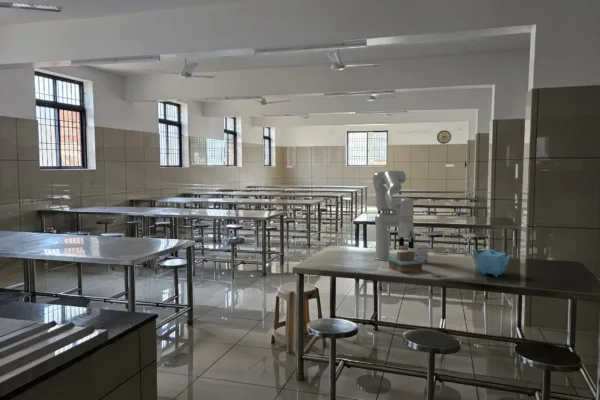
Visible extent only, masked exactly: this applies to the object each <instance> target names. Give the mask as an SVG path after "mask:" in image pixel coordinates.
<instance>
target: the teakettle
mask: <svg viewBox="0 0 600 400" xmlns="http://www.w3.org/2000/svg"><path fill="white" fill-rule="evenodd" d="M470 251H471V252H472V253H473V255H474V256H475V261H476V263H477V269H476V270H477V273H480V276H486V275H487V274H489V275H492V277H493V276H495V277H494V278H499V276H501V275H503V273H504V272H505V271H506V267H507V266H508V264H509V261H510V259H511V258H512V257H515V255H512V254H509V255H507V253H505V252H499V251H496V250H495V249H489V250H485V251H482V252H480V253H478V252H477V250H472V249H471V250H470Z"/></svg>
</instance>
